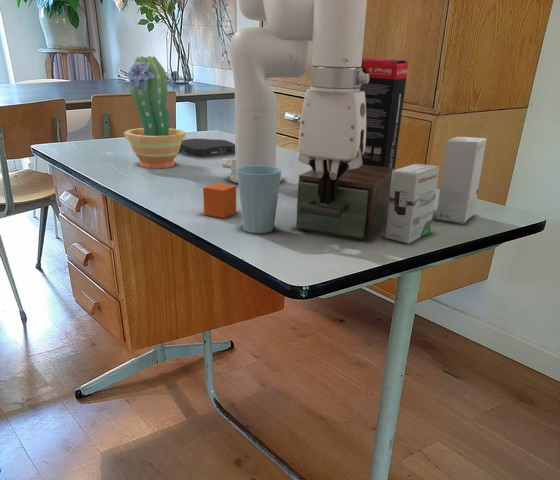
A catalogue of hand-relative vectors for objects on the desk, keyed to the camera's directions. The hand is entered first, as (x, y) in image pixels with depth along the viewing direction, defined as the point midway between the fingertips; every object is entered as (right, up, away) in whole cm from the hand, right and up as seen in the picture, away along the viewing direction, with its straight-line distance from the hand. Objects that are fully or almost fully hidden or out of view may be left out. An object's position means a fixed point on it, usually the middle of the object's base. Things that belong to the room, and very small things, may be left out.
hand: (327, 201), depth 99 cm
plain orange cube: (-20, +2, +16) cm, 26 cm away
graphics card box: (+7, +9, +29) cm, 32 cm away
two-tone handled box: (+3, -2, +8) cm, 9 cm away
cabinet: (+5, -1, +12) cm, 13 cm away
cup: (-12, -3, +8) cm, 15 cm away
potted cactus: (-40, +26, +55) cm, 73 cm away
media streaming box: (-30, +35, +72) cm, 85 cm away
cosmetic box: (+27, +2, +19) cm, 33 cm away
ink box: (+15, -4, +7) cm, 17 cm away
